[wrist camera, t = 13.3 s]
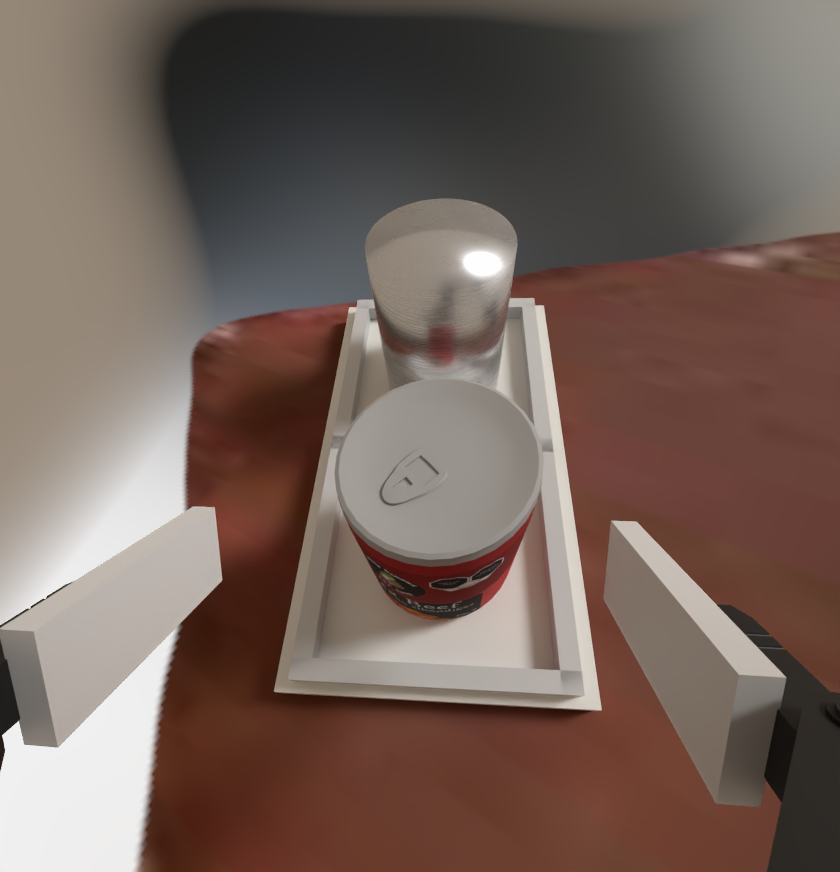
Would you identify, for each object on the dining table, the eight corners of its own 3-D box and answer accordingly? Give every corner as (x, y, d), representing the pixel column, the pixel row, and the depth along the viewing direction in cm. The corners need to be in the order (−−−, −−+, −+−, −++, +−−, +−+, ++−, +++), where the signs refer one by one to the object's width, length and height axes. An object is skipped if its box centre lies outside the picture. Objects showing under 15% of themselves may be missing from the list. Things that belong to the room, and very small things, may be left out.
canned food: (348, 574, 25) (288, 489, 16) (425, 468, 29) (413, 348, 19) (464, 656, 23) (474, 611, 13) (534, 529, 26) (580, 424, 17)
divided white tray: (540, 319, 37) (546, 293, 35) (592, 710, 22) (609, 709, 20) (352, 320, 39) (346, 295, 36) (283, 693, 24) (265, 690, 21)
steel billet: (495, 336, 35) (512, 196, 25) (500, 422, 30) (522, 290, 21) (393, 337, 35) (373, 200, 26) (383, 421, 31) (355, 292, 22)
